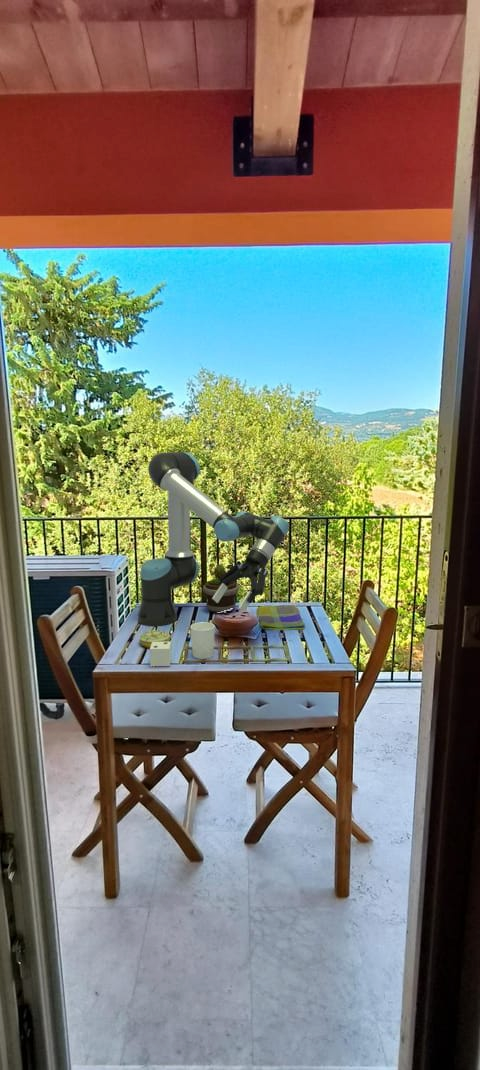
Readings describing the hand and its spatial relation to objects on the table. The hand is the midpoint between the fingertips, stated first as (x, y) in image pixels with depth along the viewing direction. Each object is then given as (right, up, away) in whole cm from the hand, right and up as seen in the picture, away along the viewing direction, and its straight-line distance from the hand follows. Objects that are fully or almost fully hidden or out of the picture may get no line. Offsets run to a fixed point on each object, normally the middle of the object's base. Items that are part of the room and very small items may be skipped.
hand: (227, 605), depth 181 cm
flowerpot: (-4, -8, +42) cm, 43 cm away
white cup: (-8, -16, -4) cm, 18 cm away
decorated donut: (-25, -14, +6) cm, 30 cm away
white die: (-21, -17, -11) cm, 29 cm away
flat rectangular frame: (+3, -16, -4) cm, 17 cm away
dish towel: (+20, -10, +31) cm, 38 cm away
